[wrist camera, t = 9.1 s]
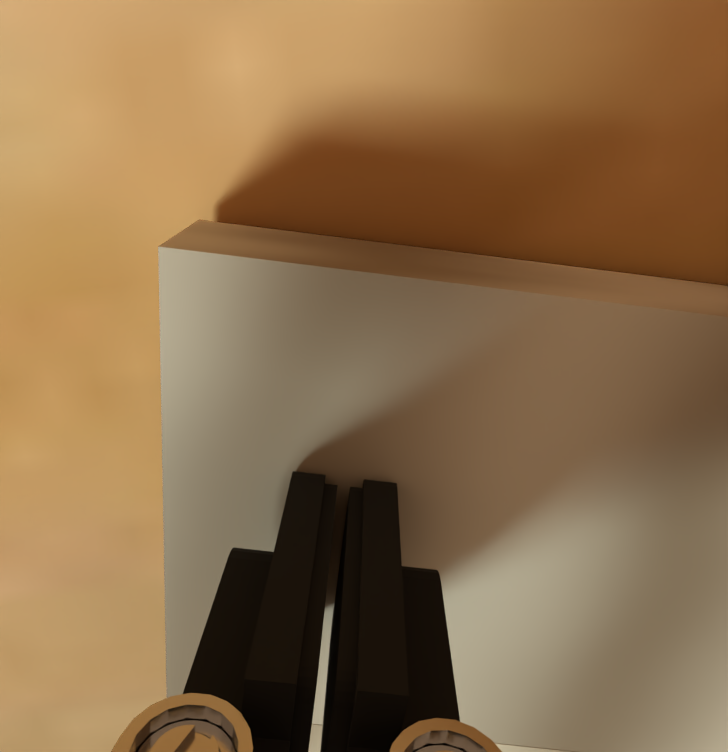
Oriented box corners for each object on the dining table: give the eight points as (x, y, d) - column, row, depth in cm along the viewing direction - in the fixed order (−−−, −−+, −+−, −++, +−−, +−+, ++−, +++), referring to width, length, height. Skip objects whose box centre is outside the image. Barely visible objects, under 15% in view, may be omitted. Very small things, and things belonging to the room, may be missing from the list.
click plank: (1258, 351, 10) (1443, 405, 9) (957, 741, 15) (1039, 834, 13) (198, 220, 10) (158, 246, 8) (195, 659, 14) (167, 743, 12)
